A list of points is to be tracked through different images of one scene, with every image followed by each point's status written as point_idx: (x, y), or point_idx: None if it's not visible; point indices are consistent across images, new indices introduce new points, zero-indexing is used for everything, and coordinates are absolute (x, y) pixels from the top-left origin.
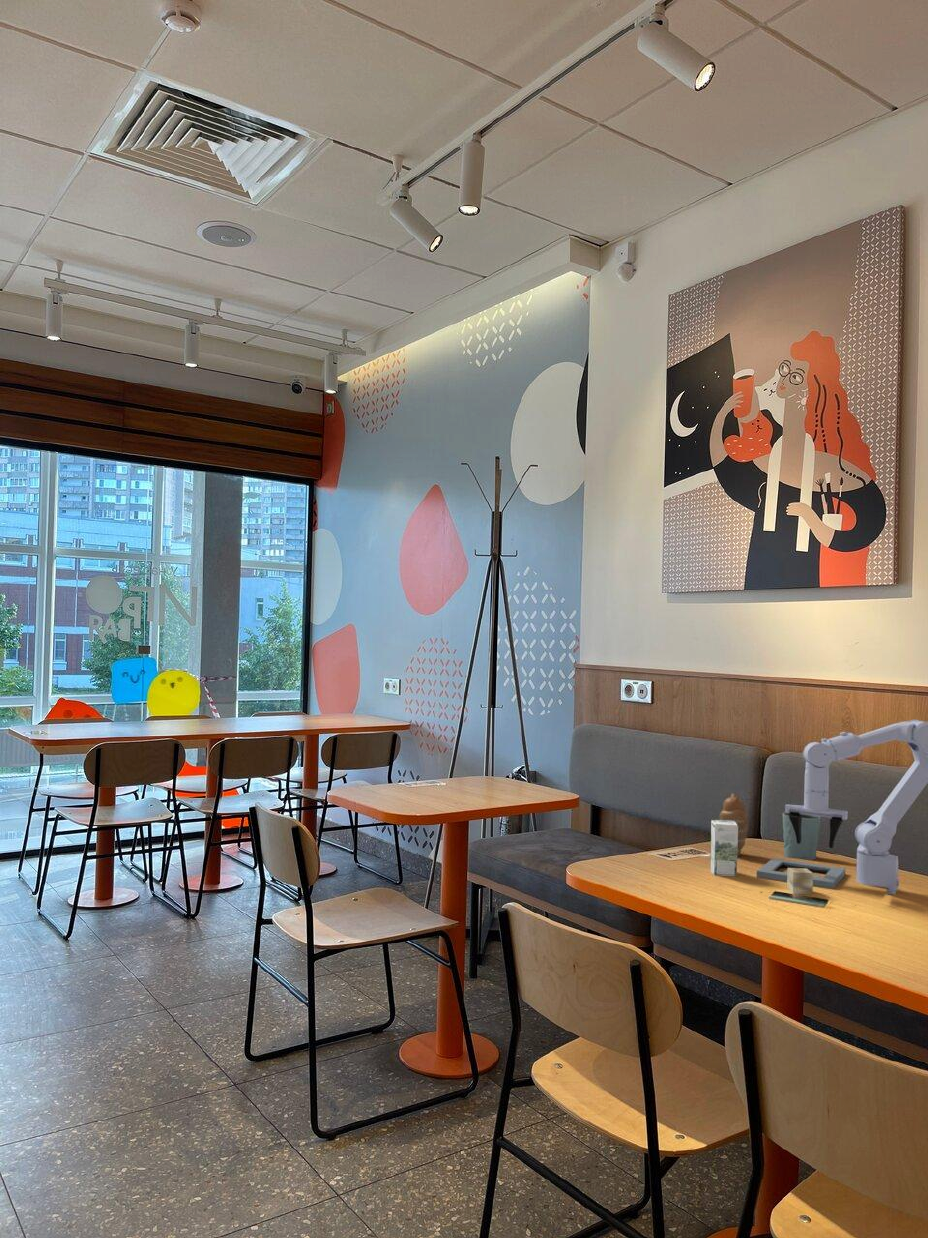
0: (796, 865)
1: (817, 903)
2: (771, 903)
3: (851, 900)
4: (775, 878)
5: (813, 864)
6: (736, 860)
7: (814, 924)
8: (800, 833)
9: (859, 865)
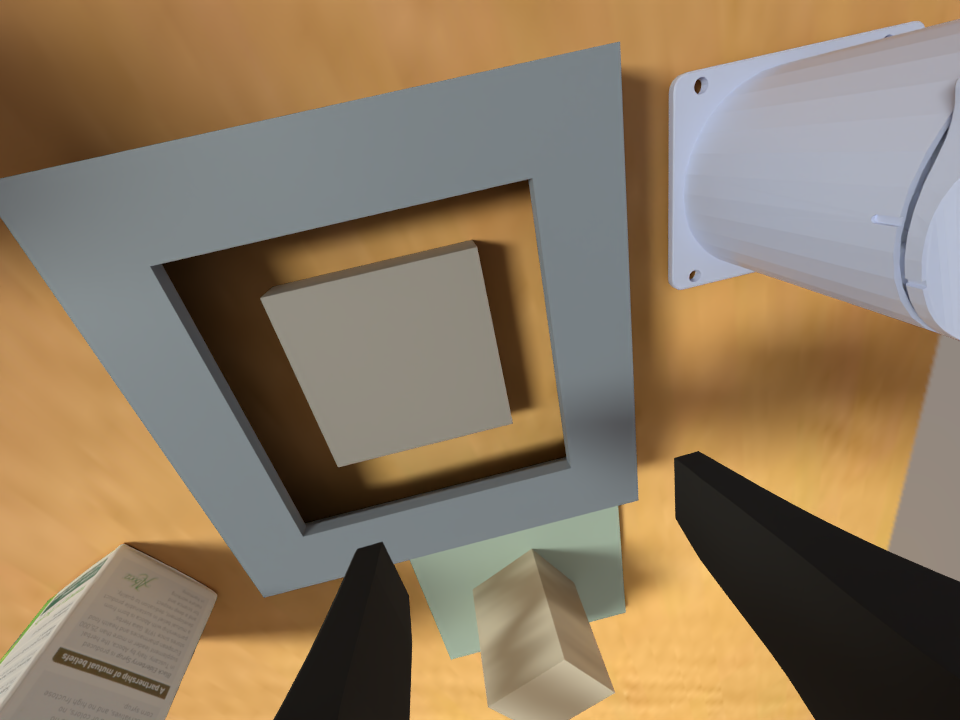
0: (270, 237)
1: (604, 609)
2: (482, 677)
3: None
4: None
5: (365, 132)
6: (167, 711)
7: (640, 713)
8: (377, 664)
9: (806, 282)
